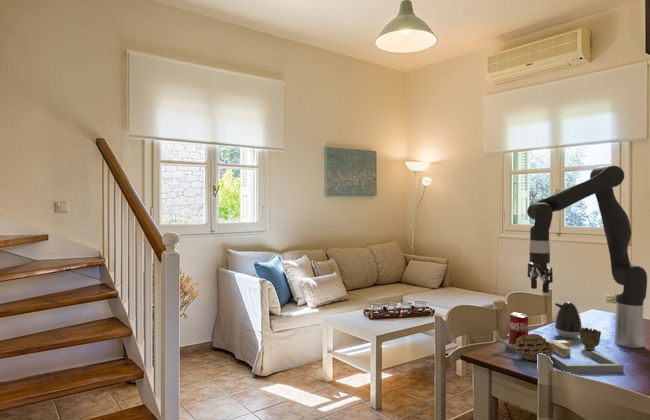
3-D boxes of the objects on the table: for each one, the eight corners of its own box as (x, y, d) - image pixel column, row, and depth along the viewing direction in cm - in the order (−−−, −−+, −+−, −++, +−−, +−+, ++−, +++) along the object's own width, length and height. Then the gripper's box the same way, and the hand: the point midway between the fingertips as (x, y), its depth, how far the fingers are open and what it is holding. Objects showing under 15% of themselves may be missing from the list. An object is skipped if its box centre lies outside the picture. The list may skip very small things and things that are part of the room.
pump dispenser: (551, 332, 194) (552, 298, 194) (577, 334, 191) (578, 300, 191) (557, 339, 184) (558, 303, 184) (584, 341, 181) (585, 305, 181)
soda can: (530, 347, 173) (530, 317, 172) (510, 345, 174) (511, 316, 174) (525, 341, 180) (525, 313, 180) (506, 340, 181) (507, 312, 181)
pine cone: (557, 362, 156) (558, 335, 156) (548, 369, 149) (549, 340, 149) (497, 347, 172) (498, 322, 172) (487, 353, 165) (487, 327, 165)
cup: (593, 354, 165) (593, 333, 165) (574, 348, 172) (575, 328, 172) (604, 351, 169) (605, 331, 169) (585, 345, 175) (586, 326, 175)
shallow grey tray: (594, 357, 162) (594, 351, 162) (623, 372, 147) (623, 365, 147) (543, 357, 161) (543, 351, 160) (567, 373, 146) (567, 365, 146)
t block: (565, 347, 173) (565, 340, 173) (581, 356, 163) (581, 348, 163) (536, 347, 172) (536, 340, 172) (551, 356, 162) (551, 348, 162)
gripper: (558, 253, 170) (558, 294, 170) (538, 249, 184) (538, 287, 184) (540, 253, 169) (540, 294, 169) (521, 249, 183) (521, 287, 183)
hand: (539, 290), depth 177 cm, fingers open, 8 cm apart
